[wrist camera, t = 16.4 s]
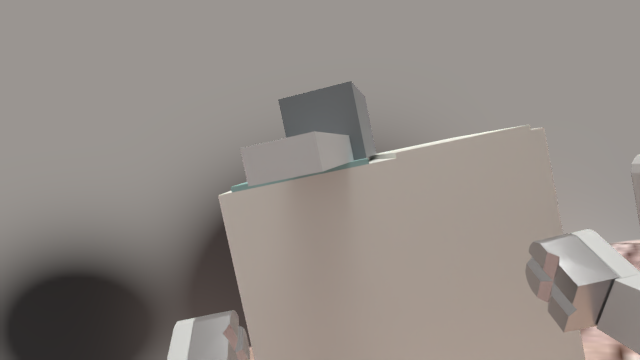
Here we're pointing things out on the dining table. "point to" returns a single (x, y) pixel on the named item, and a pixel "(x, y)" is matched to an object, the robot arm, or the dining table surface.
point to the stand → (402, 255)
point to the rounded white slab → (636, 181)
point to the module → (313, 136)
